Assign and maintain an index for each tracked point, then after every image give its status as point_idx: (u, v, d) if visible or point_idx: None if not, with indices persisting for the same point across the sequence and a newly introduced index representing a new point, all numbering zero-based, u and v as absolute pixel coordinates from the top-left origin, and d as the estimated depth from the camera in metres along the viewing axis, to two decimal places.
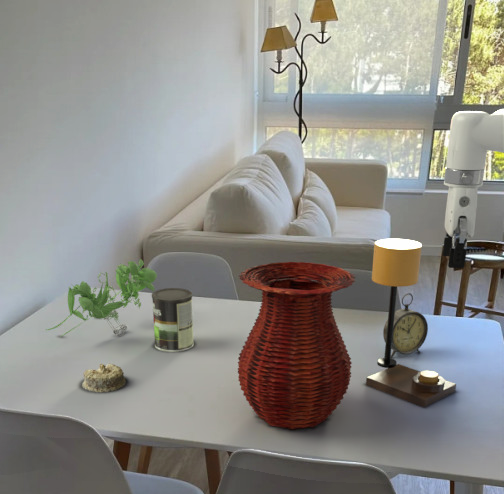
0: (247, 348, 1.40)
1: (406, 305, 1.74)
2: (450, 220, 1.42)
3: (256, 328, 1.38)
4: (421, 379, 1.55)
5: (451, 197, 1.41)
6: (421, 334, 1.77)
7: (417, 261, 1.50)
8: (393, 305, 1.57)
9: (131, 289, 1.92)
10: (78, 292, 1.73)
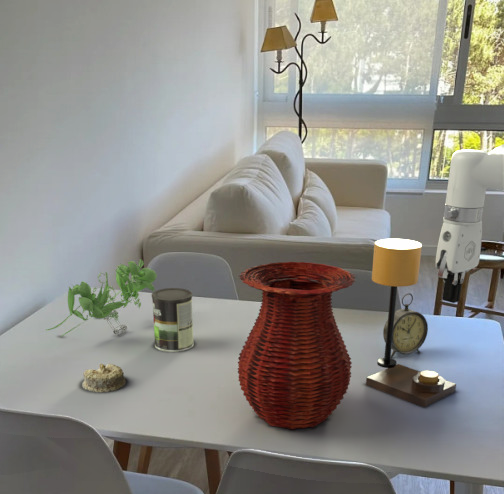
0: (247, 348, 1.40)
1: (406, 305, 1.74)
2: None
3: (256, 328, 1.38)
4: (421, 379, 1.55)
5: None
6: (421, 334, 1.77)
7: (417, 261, 1.50)
8: (393, 305, 1.57)
9: (131, 289, 1.92)
10: (78, 292, 1.73)
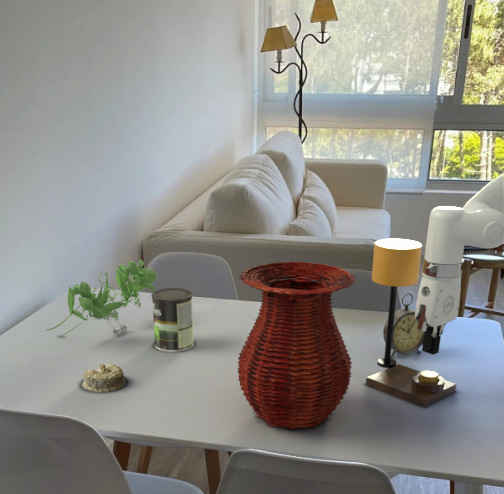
0: (247, 348, 1.40)
1: (406, 305, 1.74)
2: None
3: (256, 328, 1.38)
4: (421, 379, 1.55)
5: None
6: (421, 334, 1.77)
7: (417, 261, 1.50)
8: (393, 305, 1.57)
9: (131, 289, 1.92)
10: (78, 292, 1.73)
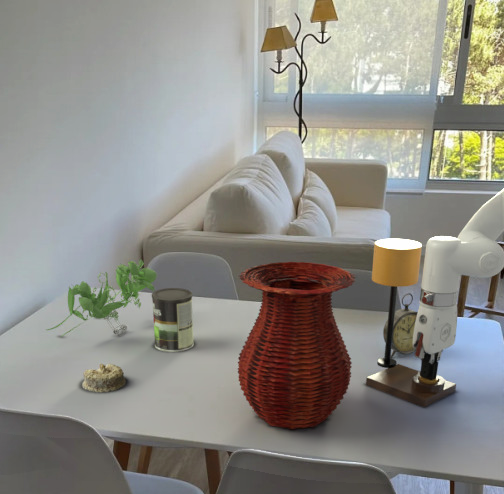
0: (247, 348, 1.40)
1: (406, 305, 1.74)
2: None
3: (256, 328, 1.38)
4: None
5: None
6: None
7: (417, 261, 1.50)
8: (393, 305, 1.57)
9: (131, 289, 1.92)
10: (78, 292, 1.73)
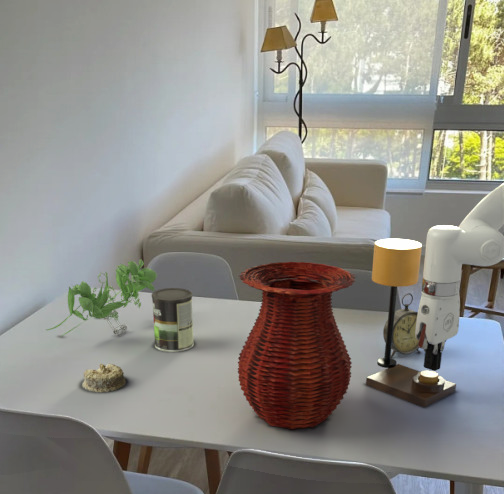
0: (247, 348, 1.40)
1: (406, 305, 1.74)
2: None
3: (256, 328, 1.38)
4: (421, 379, 1.55)
5: None
6: None
7: (417, 261, 1.50)
8: (393, 305, 1.57)
9: (131, 289, 1.92)
10: (78, 292, 1.73)
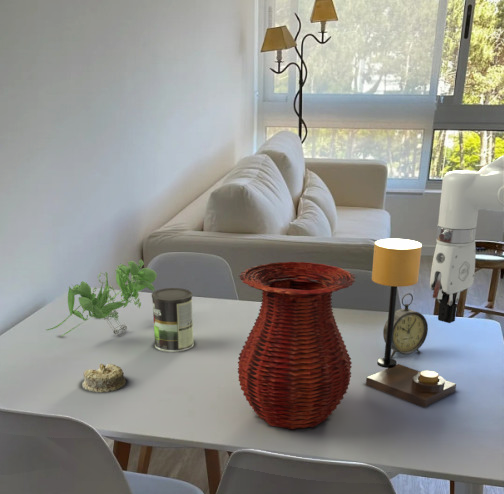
0: (247, 348, 1.40)
1: (406, 305, 1.74)
2: None
3: (256, 328, 1.38)
4: (421, 379, 1.55)
5: None
6: (421, 334, 1.77)
7: (417, 261, 1.50)
8: (393, 305, 1.57)
9: (131, 289, 1.92)
10: (78, 292, 1.73)
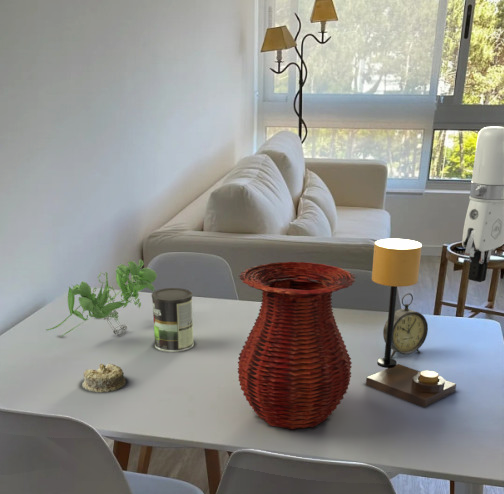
0: (247, 348, 1.40)
1: (406, 305, 1.74)
2: None
3: (256, 328, 1.38)
4: (421, 379, 1.55)
5: None
6: (421, 334, 1.77)
7: (417, 261, 1.50)
8: (393, 305, 1.57)
9: (131, 289, 1.92)
10: (78, 292, 1.73)
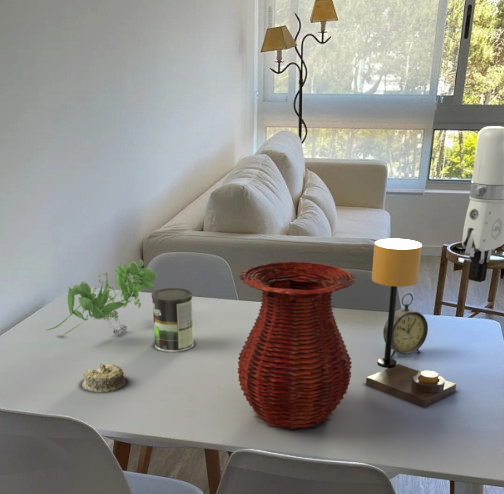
0: (247, 348, 1.40)
1: (406, 305, 1.74)
2: None
3: (256, 328, 1.38)
4: (421, 379, 1.55)
5: None
6: (421, 334, 1.77)
7: (417, 261, 1.50)
8: (393, 305, 1.57)
9: (131, 289, 1.92)
10: (78, 292, 1.73)
